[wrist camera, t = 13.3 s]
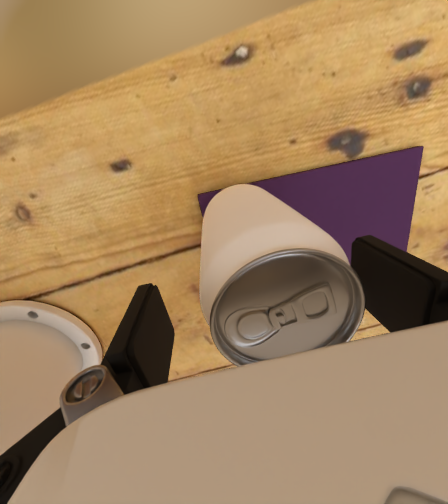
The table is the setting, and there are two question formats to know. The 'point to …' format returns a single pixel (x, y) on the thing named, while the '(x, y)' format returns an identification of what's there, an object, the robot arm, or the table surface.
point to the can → (273, 279)
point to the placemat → (352, 197)
